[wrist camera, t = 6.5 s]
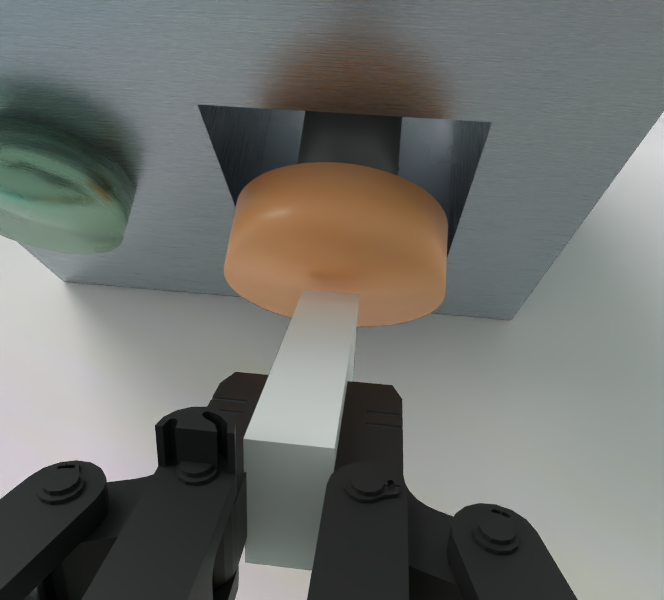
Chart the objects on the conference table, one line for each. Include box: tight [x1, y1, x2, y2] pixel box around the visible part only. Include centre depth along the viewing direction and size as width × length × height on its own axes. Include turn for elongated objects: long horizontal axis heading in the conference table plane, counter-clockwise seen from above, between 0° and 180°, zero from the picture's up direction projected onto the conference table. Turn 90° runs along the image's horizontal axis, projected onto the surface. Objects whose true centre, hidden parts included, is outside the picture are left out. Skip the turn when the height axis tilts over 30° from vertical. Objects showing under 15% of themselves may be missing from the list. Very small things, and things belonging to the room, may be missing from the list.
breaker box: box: [0, 0, 664, 320], centre depth 19 cm, size 12×20×18 cm, turn 84°
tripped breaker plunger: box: [224, 111, 448, 327], centre depth 18 cm, size 13×6×6 cm, turn 174°
